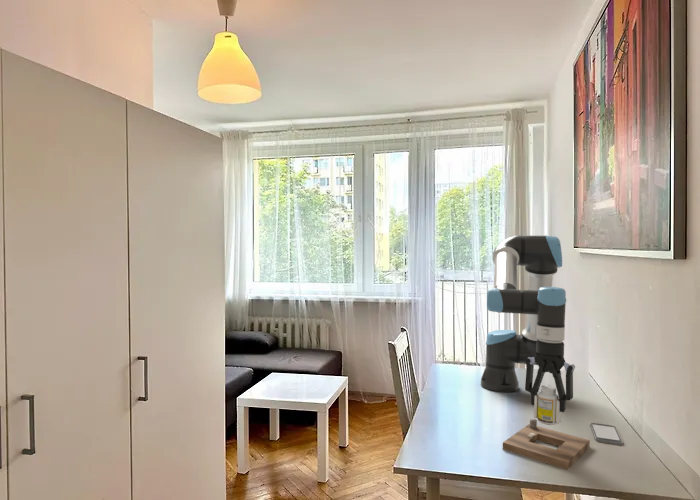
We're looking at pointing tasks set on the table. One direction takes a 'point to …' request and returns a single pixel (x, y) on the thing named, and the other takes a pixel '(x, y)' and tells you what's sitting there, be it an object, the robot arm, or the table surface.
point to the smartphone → (606, 434)
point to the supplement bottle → (547, 405)
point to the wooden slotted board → (558, 457)
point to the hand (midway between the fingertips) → (547, 419)
